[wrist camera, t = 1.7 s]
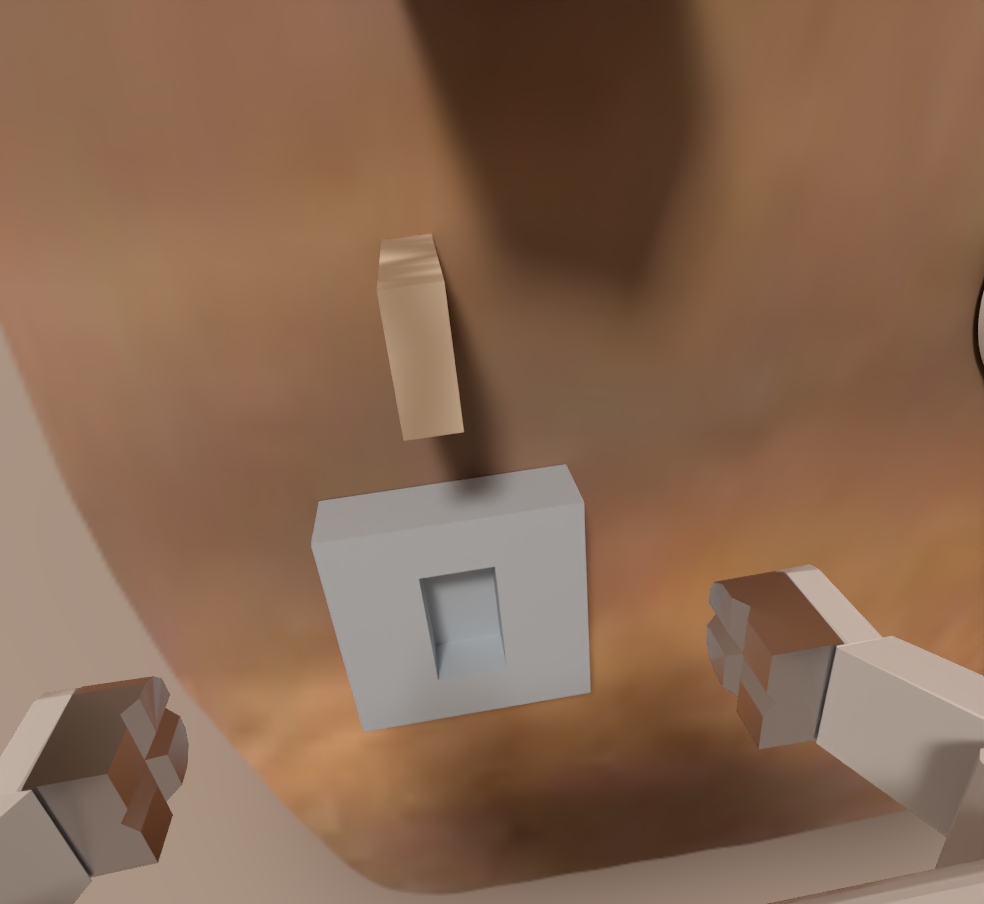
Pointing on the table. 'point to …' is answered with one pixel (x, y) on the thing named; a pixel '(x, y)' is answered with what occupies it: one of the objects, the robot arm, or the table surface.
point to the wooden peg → (418, 337)
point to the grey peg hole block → (458, 594)
